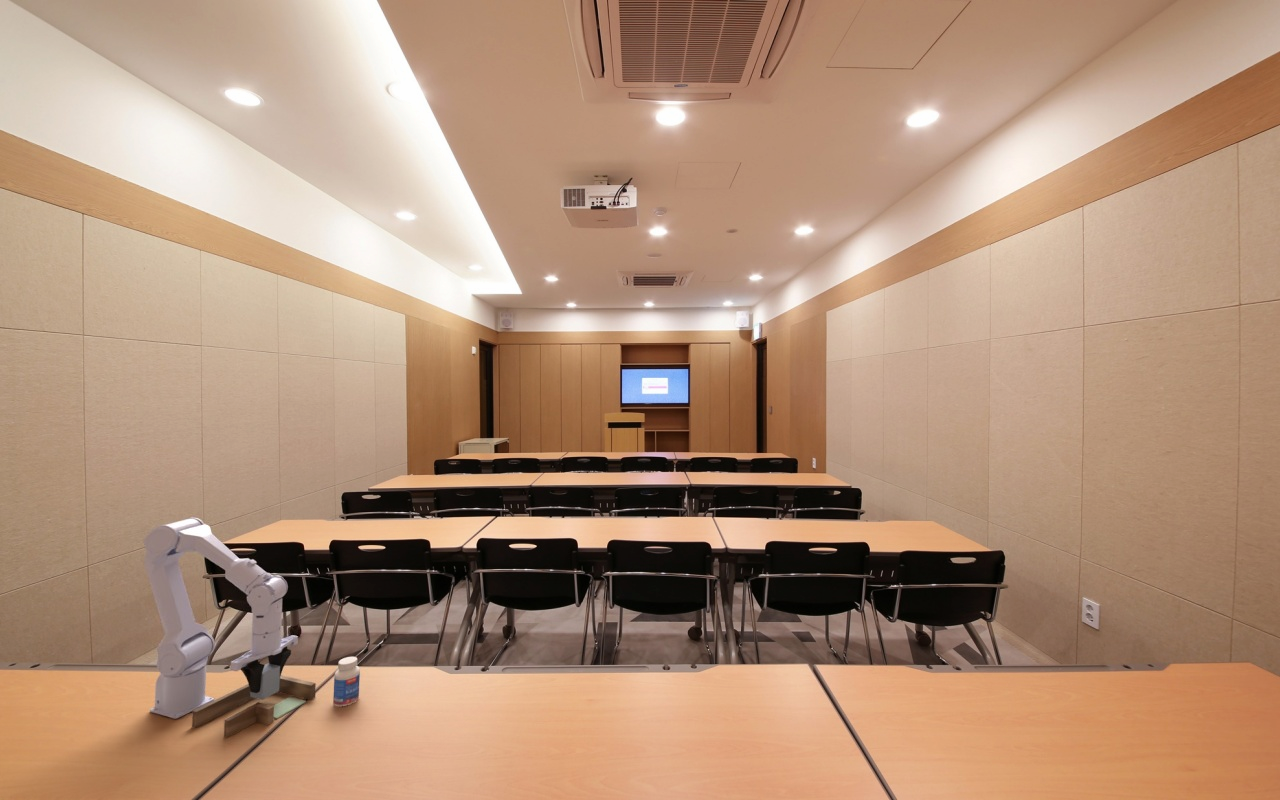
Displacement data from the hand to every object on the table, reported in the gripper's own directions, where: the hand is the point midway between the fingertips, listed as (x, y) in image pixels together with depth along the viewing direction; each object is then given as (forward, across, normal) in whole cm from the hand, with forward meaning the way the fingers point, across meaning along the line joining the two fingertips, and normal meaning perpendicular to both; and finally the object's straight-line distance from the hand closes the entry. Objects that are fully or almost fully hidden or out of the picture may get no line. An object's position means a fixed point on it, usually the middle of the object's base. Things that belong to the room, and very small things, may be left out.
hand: (264, 686), depth 119 cm
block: (+2, 0, 0) cm, 2 cm away
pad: (+4, 0, -6) cm, 7 cm away
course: (+4, -3, -2) cm, 5 cm away
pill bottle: (+4, +7, -18) cm, 20 cm away
